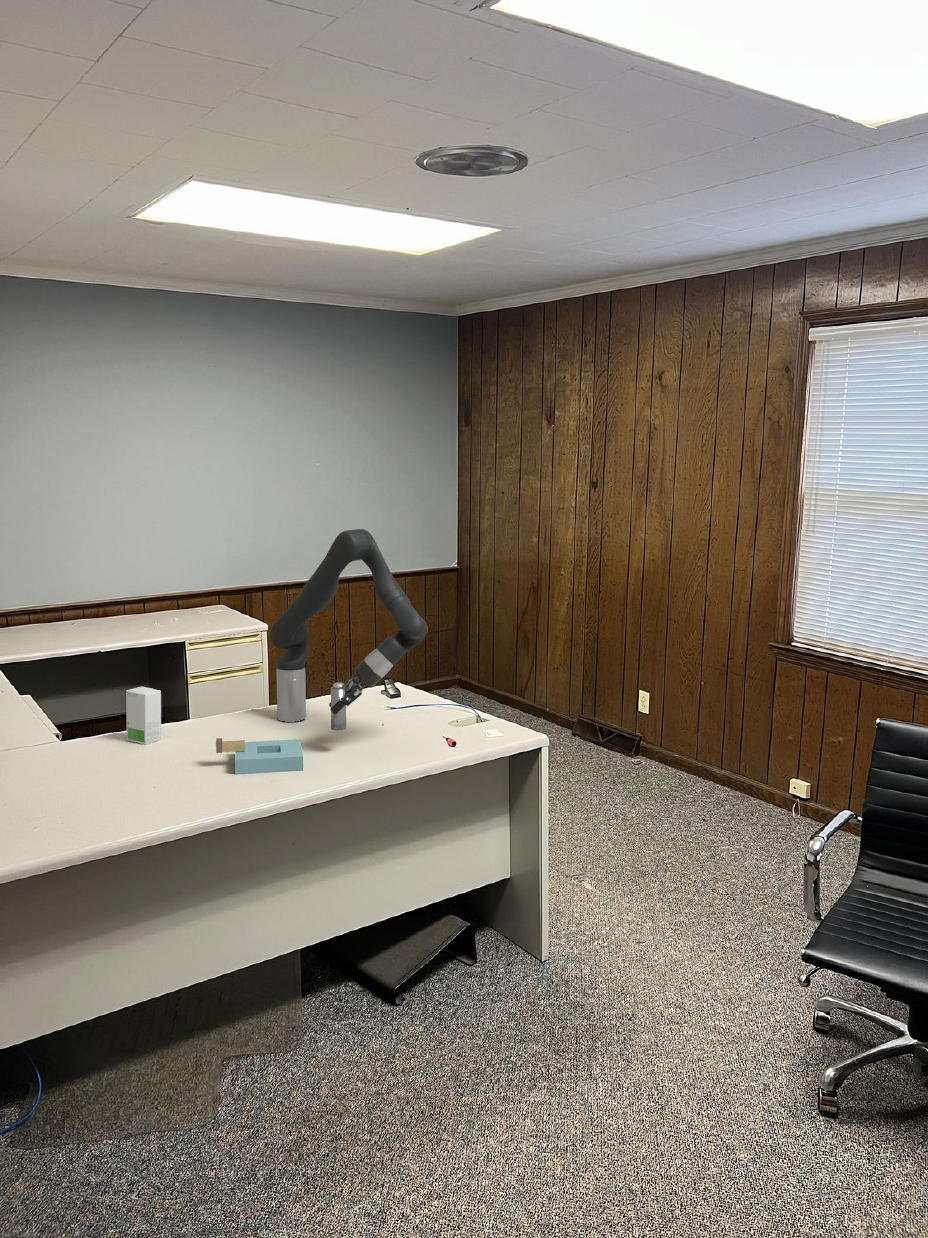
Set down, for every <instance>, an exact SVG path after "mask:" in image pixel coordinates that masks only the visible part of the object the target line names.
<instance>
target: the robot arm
mask: <svg viewBox="0 0 928 1238" xmlns="http://www.w3.org/2000/svg"><path fill="white" fill-rule="evenodd" d="M356 561H362V562H363V563H364V564H365V565H366V566H367V568H368V569H369V570H370V572H371V575H372V579H373V584H374V589H375V593H376V595H377V597H378V599H379V601H380V603H382V605H383V606H384V608H385V610H387V612H388V613H389V614H390V615H391V617H392V618H393V620H394V622H395V624H396V626H397V627H398V628H399V630H398V632H396V633H395V634H393V635H391V636H388V637H386V638H385V639H384V640H383V641H382V642H381V643H380V644H379V645H378V646H377V647H376V648H375V649H374V650H373V651H370V653H369V654H368V655H367V656H365V658H364V659H362V661H361V662H360V663H358V665H357V666H356V667H354V669H353V671H354V674H355V675H356V676H355V677H352V676H350V677H349V679H348V680H347V681H346V682H345V683H344V687H346V690H345V691H344V695H343V696H342V697H341V698H340V700H339V701H338V702H337V703H336V704H335V705H334V706H333V707H332V708H331V701H330V702H329V704H328V706H329V707H330V713H331V712H332V713H334V714H337V713H338V712H339V711H340V710H341V709H342V708H343V707H344V705H345V706H346V707H349V706H350V705H351V704H352V703H353V702H355V701H356V700H357V699H358V698H359V697H361V696H362V695H363V691H364V690H363V689H364V688H365V686H367V687H368V688H371V689H372V688H373V687H375V685H377V684H378V682H380V681H381V680H382V679H383V678H384V677H385V676H386V675H387V674H388V673H389V672H390V671H391V669H392V668H393V666H395V664H396V663H398V661H399V660H401V658H402V657H403V656H404V655H405V654H407V652H409V651H411V650H412V649H413V648H415V647H416V646H418V645H419V644H420V643H421V642H422V641H423V640H424V639H426V636H427V635H428V631H429V627H428V624H427V622H426V621H425V619H424V618H422V616H421V615H420V614H419V612H418V611H417V610H416V609H415V608H414V606H413V605H412V604H411V601H410V598H408V596H407V594H406V593H405V592H404V590H403V588H401V586H400V585H399V582H398V581H397V580H396V579H395V578H394V576H393V574H392V572H391V570H390V569H389V566H388V564H387V562H386V560H385V557H384V556H383V553H382V552H381V551H380V547H379V546H378V543H377V541H376V540H375V538H374V536H373V535H372V534H371V532H370V531H368V530H367V529H364V528H363V529H362V528H357V529H355V528H354V529H348V530H344V531H341V532H340V533H339V534H338V535H337V536H335V539H334V540H333V542H332V544H331V546H330V547H329V549H328V551H327V553H326V554H325V557H323V560H322V561H321V563H319V565H318V567H317V568H316V569H315V571H314V572H313V574H312V575H311V576H310V577H309V579H308V580H307V582H306V583H305V584H304V585H303V586H302V588H301V591H300V592H299V593H298V595H297V596H296V597H295V598H294V600H293V601H292V602H291V603H290V605H289V607H288V608H287V609H286V610H285V611H284V612H283V613H282V614H281V615H280V617H279V618H277V619H276V620H275V621H274V623H273V624H272V626H271V627H270V628H271V629H270V632H269V639H270V642H271V645H272V646H274V647H275V648H277V649H286V650H285V652H284V653H282V655H280V656H279V657H278V658H277V659H276V665H275V666H276V667H275V668H276V707H277V710H276V713H277V721H279V720H281V721H280V722H282V721H285V722H284V723H296V722H295V721H299V722H301V721H300V720H303V719H305V718H306V719H307V706H306V705H307V696H306V694H307V693H306V683H307V682H306V662H307V660H308V648H309V629H308V626H307V623H306V622H308V621H309V620H310V619H312V618H313V617H314V616H316V615H318V614H319V613H320V612H321V611H322V610H324V609H325V608H326V607H327V606H328V605H329V604H330V603H331V601H332V600H333V598H335V595H336V594H337V592H338V589H339V581H340V580H339V578H340V575H342V572H343V571H344V569H345V568H346V567H347V566H348V565H349V564H350V563H352V562H356ZM306 719H305V720H306ZM303 721H304V720H303Z"/></svg>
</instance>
